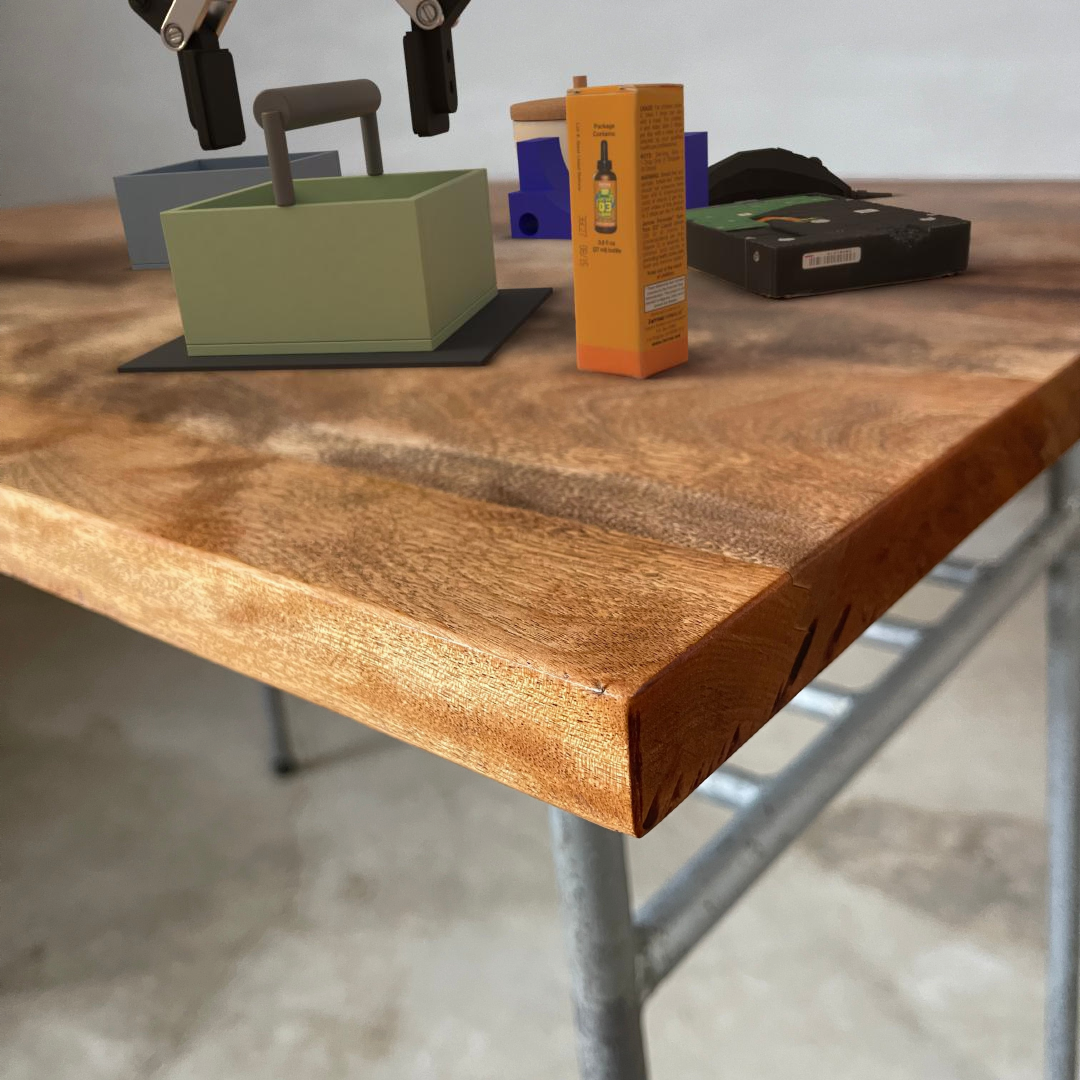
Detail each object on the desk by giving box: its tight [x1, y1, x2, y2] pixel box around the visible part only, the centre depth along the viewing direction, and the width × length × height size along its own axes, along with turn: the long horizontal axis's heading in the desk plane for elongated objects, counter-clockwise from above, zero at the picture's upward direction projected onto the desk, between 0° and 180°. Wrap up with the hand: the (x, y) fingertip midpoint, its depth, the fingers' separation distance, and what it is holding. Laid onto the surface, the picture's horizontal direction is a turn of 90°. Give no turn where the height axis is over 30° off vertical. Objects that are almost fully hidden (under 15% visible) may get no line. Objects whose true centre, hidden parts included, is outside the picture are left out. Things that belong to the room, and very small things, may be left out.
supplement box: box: [565, 82, 689, 380], centre depth 40 cm, size 3×3×10 cm
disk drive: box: [686, 193, 972, 299], centre depth 57 cm, size 10×3×15 cm
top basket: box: [160, 78, 498, 356], centre depth 49 cm, size 11×11×10 cm
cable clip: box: [507, 130, 709, 240], centre depth 71 cm, size 12×4×6 cm, turn 60°
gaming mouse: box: [708, 146, 893, 206], centre depth 78 cm, size 6×15×4 cm, turn 88°
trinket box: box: [509, 74, 588, 171], centre depth 84 cm, size 11×11×9 cm
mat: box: [116, 287, 554, 374], centre depth 52 cm, size 16×14×1 cm
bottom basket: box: [112, 149, 342, 271], centre depth 76 cm, size 11×11×6 cm
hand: (326, 141), depth 48 cm, fingers open, 9 cm apart
